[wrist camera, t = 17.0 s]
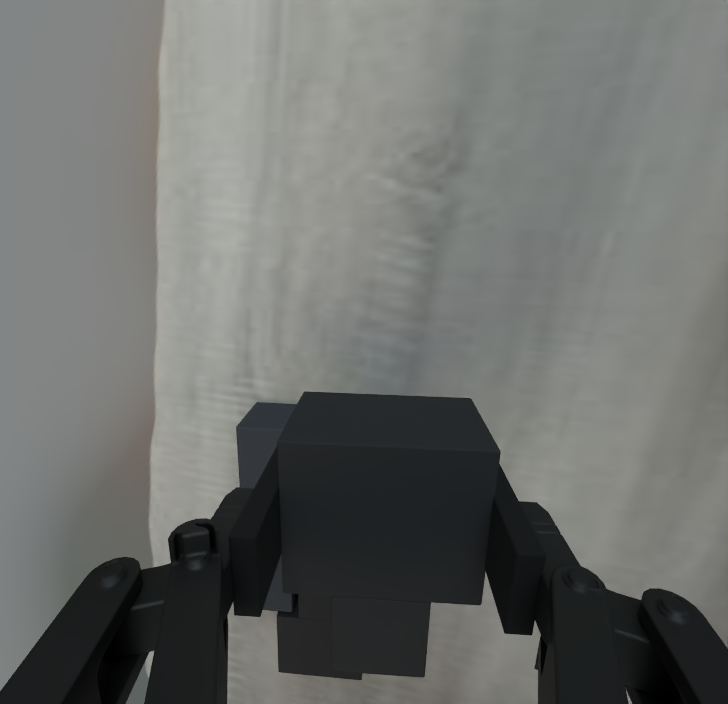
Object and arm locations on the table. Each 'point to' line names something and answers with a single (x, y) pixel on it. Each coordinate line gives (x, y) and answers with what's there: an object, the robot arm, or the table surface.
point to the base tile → (253, 455)
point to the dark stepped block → (307, 638)
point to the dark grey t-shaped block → (385, 518)
